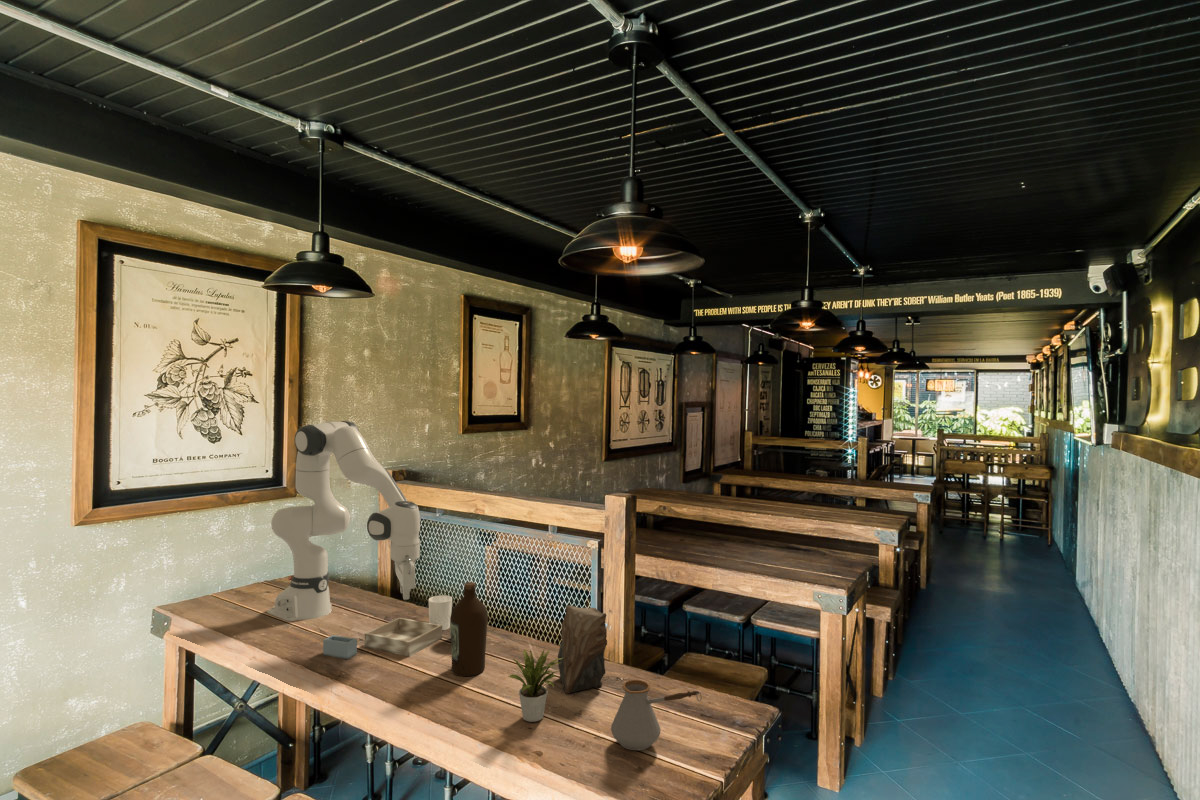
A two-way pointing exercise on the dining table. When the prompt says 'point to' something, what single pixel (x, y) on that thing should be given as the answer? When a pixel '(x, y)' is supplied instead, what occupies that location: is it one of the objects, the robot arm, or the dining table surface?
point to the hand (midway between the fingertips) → (404, 595)
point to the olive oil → (468, 634)
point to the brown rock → (582, 649)
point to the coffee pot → (639, 716)
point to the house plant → (534, 686)
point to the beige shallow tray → (403, 636)
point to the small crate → (340, 646)
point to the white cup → (440, 610)
